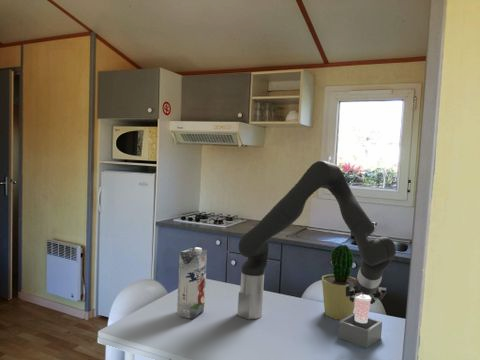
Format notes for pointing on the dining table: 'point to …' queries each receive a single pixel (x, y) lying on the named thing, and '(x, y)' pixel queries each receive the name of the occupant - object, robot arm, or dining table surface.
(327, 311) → the potted cactus
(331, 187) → the robot arm
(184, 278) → the juice carton
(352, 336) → the bin
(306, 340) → the dining table surface
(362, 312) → the beverage cup
